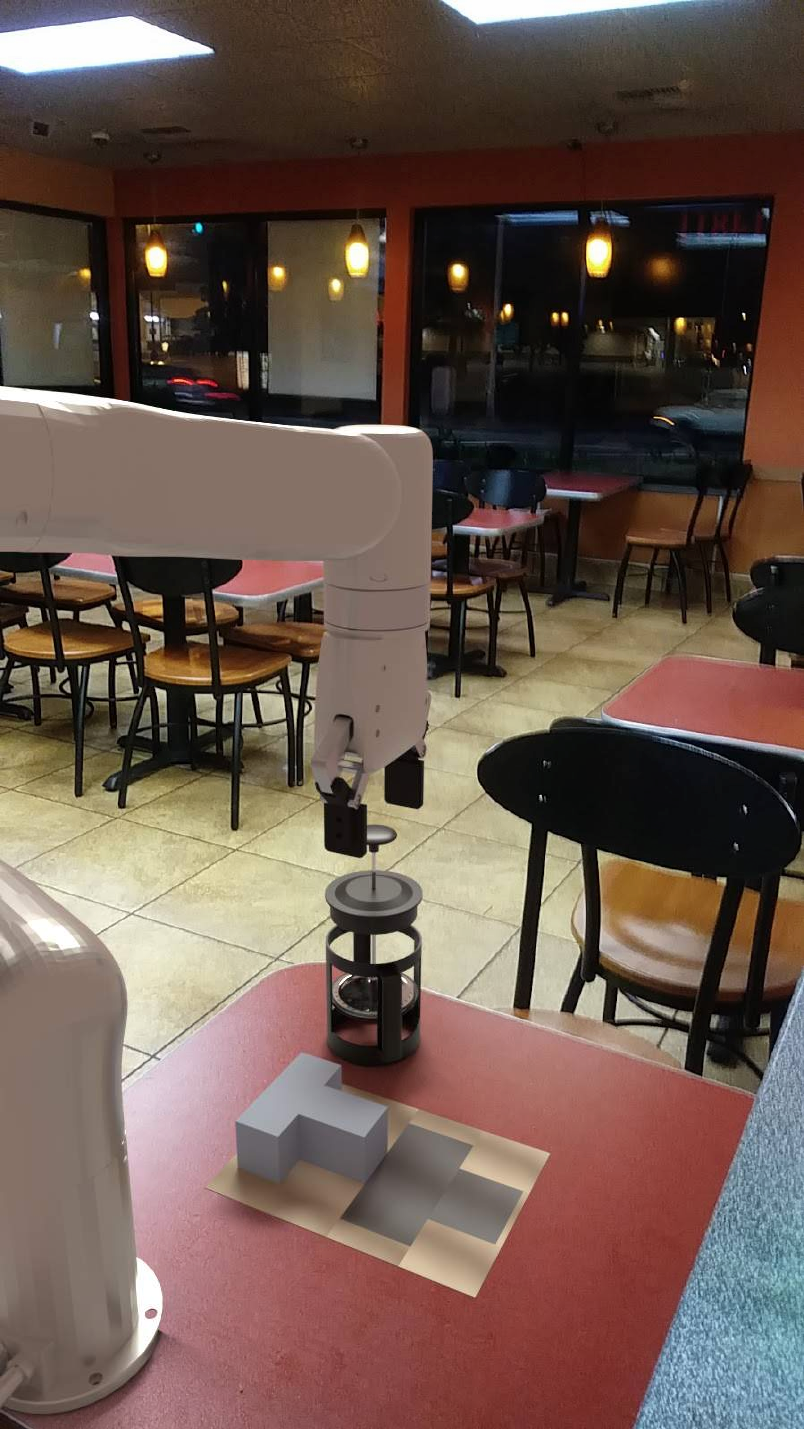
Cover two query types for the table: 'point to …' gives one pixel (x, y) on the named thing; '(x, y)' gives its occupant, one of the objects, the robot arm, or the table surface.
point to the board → (409, 1196)
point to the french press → (374, 959)
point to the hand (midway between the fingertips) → (376, 827)
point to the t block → (311, 1125)
